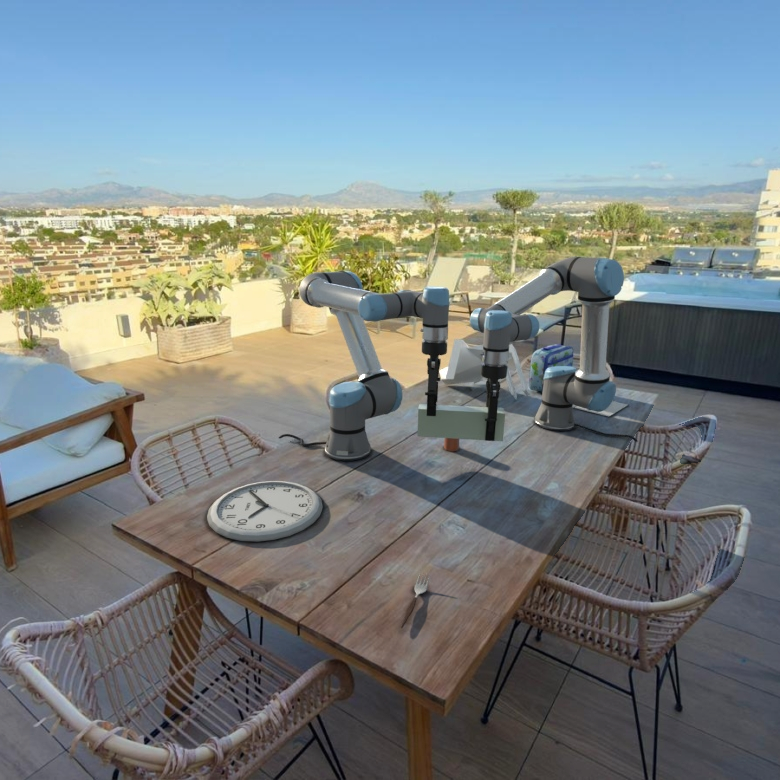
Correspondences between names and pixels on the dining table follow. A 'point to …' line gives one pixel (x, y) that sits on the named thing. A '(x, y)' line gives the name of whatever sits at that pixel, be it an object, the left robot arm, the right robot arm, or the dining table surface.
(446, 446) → the orange cylinder puck
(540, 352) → the lunch box
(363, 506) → the dining table surface
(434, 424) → the beam
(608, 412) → the invitation card
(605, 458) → the dining table surface
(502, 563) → the dining table surface
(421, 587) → the fork
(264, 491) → the wall clock
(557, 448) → the dining table surface
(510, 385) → the white plastic object
